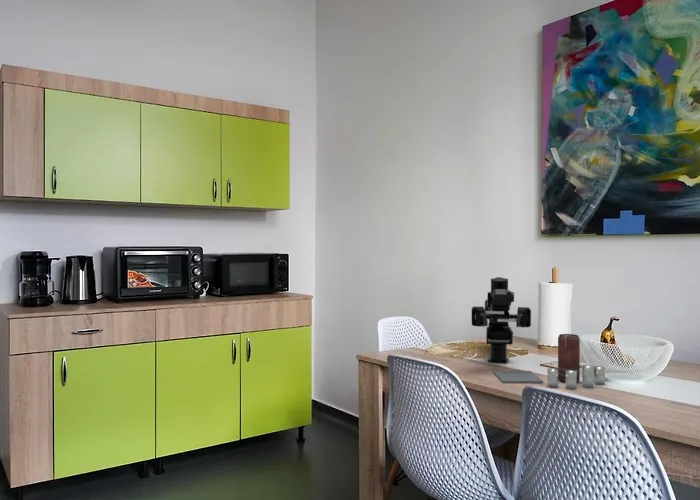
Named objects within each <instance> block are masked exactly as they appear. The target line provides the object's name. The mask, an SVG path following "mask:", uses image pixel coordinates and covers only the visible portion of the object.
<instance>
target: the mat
mask: <svg viewBox="0 0 700 500" xmlns="http://www.w3.org/2000/svg"><path fill="white" fill-rule="evenodd" d="M492 373H493V375H495V377H497V379H498V380H499V381H500V382H501V383H502V384H544V380H543V379H541V378H540V377H539V376H537V375H536V374H535V373H534V372H533V371H532V370H492Z"/></svg>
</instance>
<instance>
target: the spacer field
mask: <svg viewBox="0 0 700 500" xmlns="http://www.w3.org/2000/svg"><path fill="white" fill-rule="evenodd" d="M581 369H582V374H581V375H582V387H583V388H587V389H592V388H594V387H595V386H594V385H596V386H604V385H606V367H605V366H604V367H602V366H593V365H591V364H583V365H582V368H581ZM577 386H578V385H577V371H576V370H570V369H568V370H566V383H565V389H567V390H576V388H577V389H578V387H577ZM547 387H548V388H553V389H555V388H559V379H558V368H555V367H548V368H547Z"/></svg>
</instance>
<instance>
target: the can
mask: <svg viewBox="0 0 700 500" xmlns="http://www.w3.org/2000/svg"><path fill="white" fill-rule="evenodd" d="M580 343H581V342H580V337H579V335H577V334H572V333H561V334H559V335H558V337H557V369H558V382H561V383H565V384H566V370H568V369H570V370H576V371H577V383H579V382H580V378H581V377H580V371H581V370H580V369H581V367H580V366H581V365H580V363H581V362H580V357H581V355H580V347H581V346H580Z"/></svg>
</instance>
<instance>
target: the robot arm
mask: <svg viewBox="0 0 700 500" xmlns="http://www.w3.org/2000/svg"><path fill="white" fill-rule="evenodd" d="M514 302H515V292H514V291H511V289H509V278H505V277H502V276H501V277H500V276H499V277H498V276H497V277H495V278H490V291H488V292H487V298H486V300H485V301H484V306H472V307H471V326H472V327H482V328H483V327H484V328H485V327H486V334H485V335H486V336H485V339H486V342H485V343H486V345H490V346H489V347H490V348H489V349H490V350H489V353H490V354H489V358H488V359H487V362H491V363H492V362H493V363H502V364H503V363H508V362H509V361H510V358H509V357H508V351H507V350H508V348H507V346H508V345H509V346H510V345H513V343H514V342H513V339H514V338H513V337H514V336H513V335H514V331H513V330H512V327H510V325H509V323H515V324H516V325H515V326H516V328H530V327H531V326H532V310H531V308H530V307H529V306H528V307H525V306H523V307H522V306H518V307H517V311H516V312H517V313H516V314H514V313H513V314H511V313H510V312H509V311H510V310H511V308H510V307H511V306H512V303H514Z"/></svg>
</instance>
